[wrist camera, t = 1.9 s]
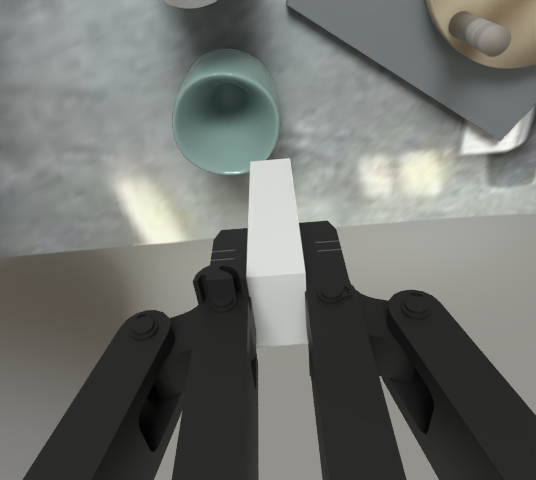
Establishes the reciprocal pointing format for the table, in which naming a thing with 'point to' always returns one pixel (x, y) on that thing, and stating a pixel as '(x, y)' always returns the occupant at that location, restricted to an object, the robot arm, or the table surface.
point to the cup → (226, 112)
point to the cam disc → (488, 30)
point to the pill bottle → (188, 3)
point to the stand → (427, 59)
